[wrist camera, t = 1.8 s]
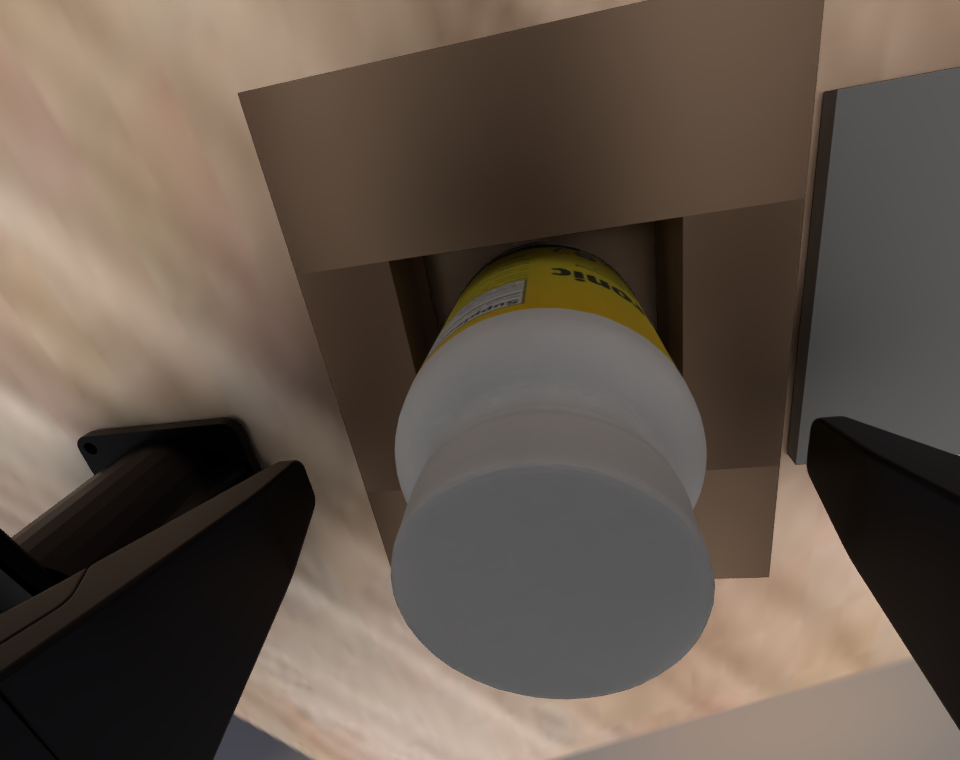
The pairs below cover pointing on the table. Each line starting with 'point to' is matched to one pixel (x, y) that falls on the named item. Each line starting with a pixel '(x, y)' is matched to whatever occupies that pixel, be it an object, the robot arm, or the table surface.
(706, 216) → the pocket holder
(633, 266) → the table surface
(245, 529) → the robot arm
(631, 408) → the supplement bottle
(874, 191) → the coaster
